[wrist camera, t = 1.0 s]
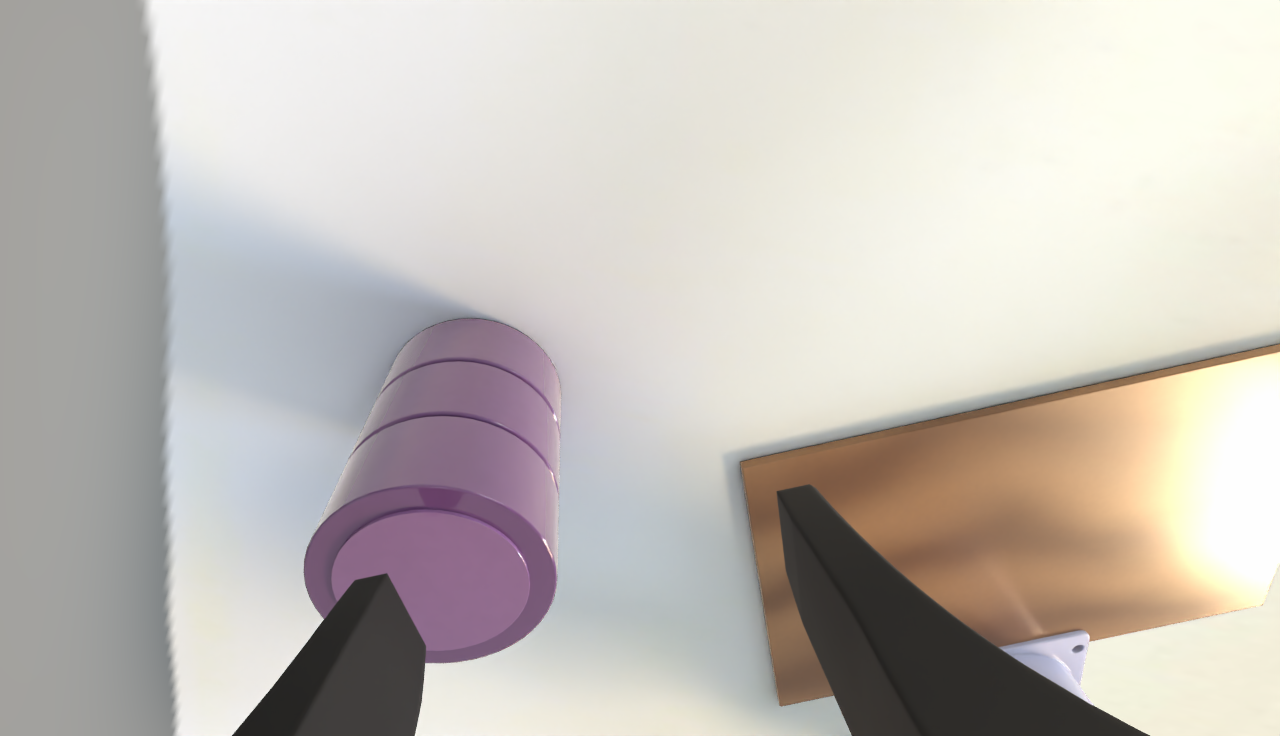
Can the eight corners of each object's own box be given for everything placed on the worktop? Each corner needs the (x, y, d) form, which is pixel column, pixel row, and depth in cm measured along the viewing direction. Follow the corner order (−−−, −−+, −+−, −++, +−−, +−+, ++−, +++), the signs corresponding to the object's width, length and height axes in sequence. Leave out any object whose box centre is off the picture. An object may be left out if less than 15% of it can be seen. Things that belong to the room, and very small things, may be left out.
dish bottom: (578, 441, 23) (579, 493, 21) (425, 475, 23) (408, 530, 21) (535, 300, 20) (530, 340, 18) (361, 338, 21) (335, 384, 18)
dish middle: (579, 493, 21) (581, 557, 18) (408, 530, 21) (388, 599, 19) (530, 340, 18) (525, 392, 16) (335, 384, 18) (300, 442, 16)
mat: (1255, 598, 31) (1263, 605, 30) (777, 699, 31) (780, 707, 31) (1355, 326, 24) (1367, 331, 23) (739, 461, 24) (742, 468, 24)
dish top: (581, 557, 18) (582, 640, 16) (388, 599, 19) (362, 688, 16) (525, 392, 16) (517, 464, 13) (300, 442, 16) (254, 522, 14)
